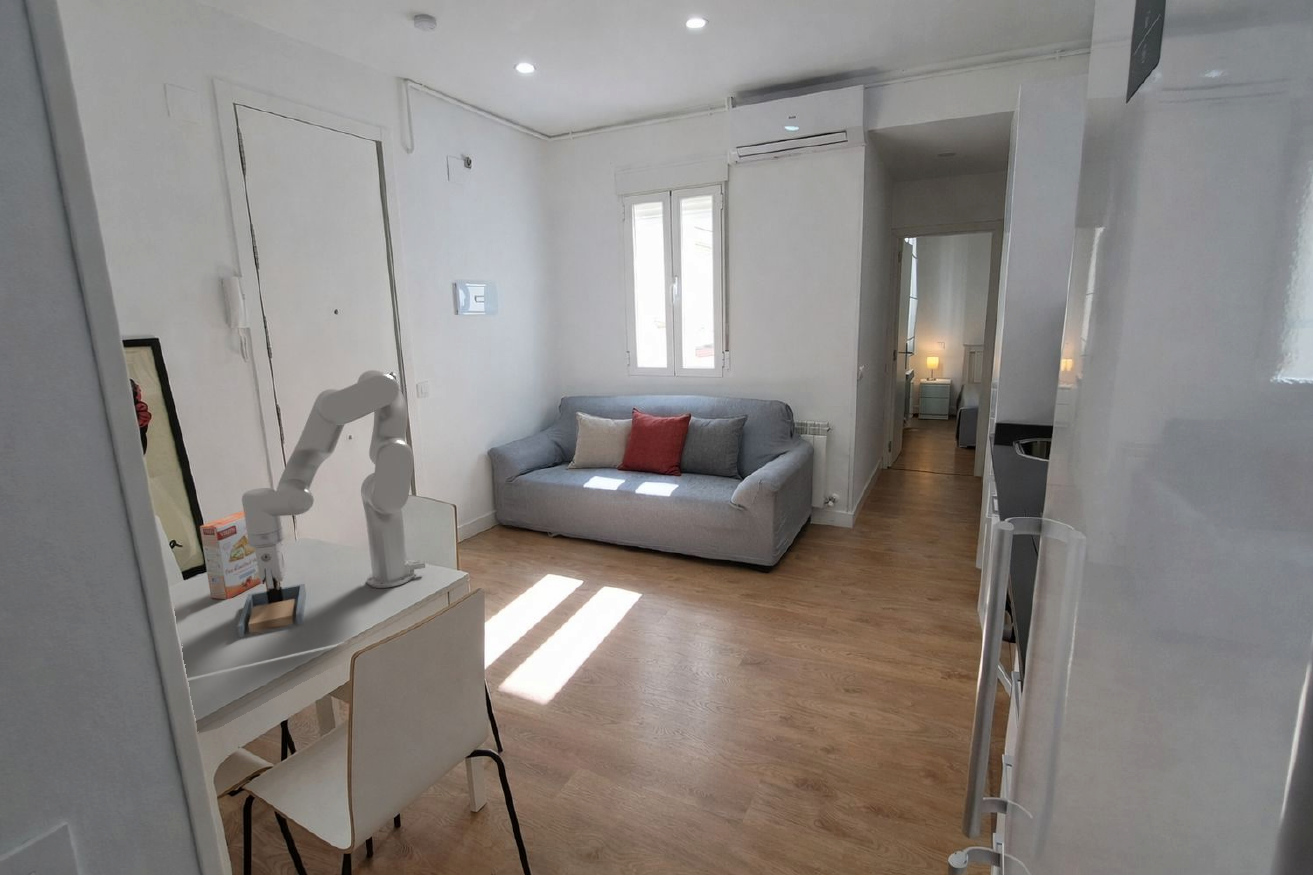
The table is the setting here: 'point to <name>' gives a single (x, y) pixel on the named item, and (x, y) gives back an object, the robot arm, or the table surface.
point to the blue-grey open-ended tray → (261, 599)
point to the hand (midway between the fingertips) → (276, 602)
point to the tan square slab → (272, 616)
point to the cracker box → (229, 557)
